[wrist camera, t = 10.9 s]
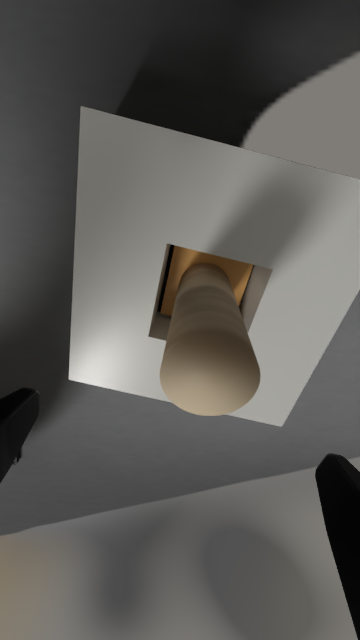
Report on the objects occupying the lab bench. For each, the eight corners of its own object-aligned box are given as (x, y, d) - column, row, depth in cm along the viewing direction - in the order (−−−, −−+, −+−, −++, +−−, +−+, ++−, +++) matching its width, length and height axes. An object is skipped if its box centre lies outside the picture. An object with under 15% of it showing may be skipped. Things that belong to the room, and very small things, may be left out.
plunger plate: (229, 325, 20) (230, 329, 20) (161, 309, 20) (160, 313, 19) (252, 257, 18) (255, 260, 17) (176, 238, 18) (175, 240, 17)
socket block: (268, 390, 23) (281, 426, 19) (89, 349, 22) (68, 379, 19) (365, 193, 16) (414, 193, 12) (108, 126, 15) (80, 105, 12)
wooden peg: (221, 316, 19) (241, 424, 10) (173, 305, 19) (151, 404, 10) (237, 269, 18) (276, 348, 9) (185, 256, 18) (170, 324, 9)
